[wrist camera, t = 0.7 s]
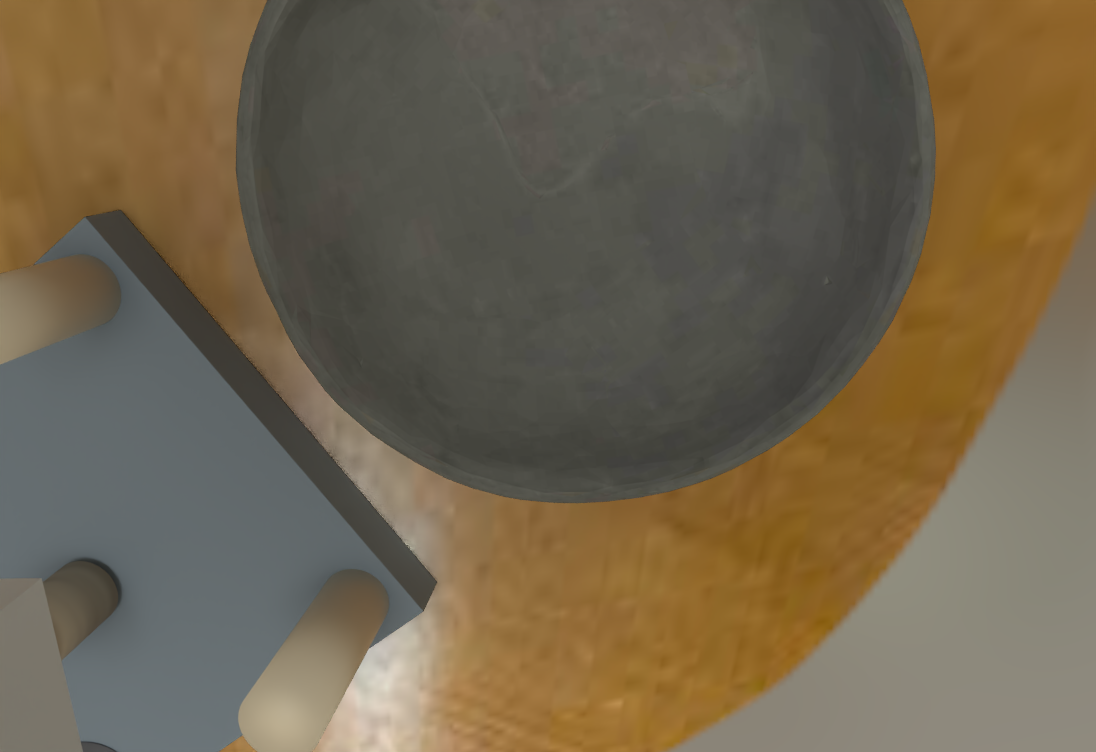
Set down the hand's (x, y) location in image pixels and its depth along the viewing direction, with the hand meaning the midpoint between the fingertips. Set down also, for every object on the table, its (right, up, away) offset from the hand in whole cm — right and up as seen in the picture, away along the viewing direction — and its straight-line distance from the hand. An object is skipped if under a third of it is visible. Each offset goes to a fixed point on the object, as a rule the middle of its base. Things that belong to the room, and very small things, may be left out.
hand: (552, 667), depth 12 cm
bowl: (+2, +12, +24) cm, 27 cm away
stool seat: (-19, -3, +31) cm, 36 cm away
